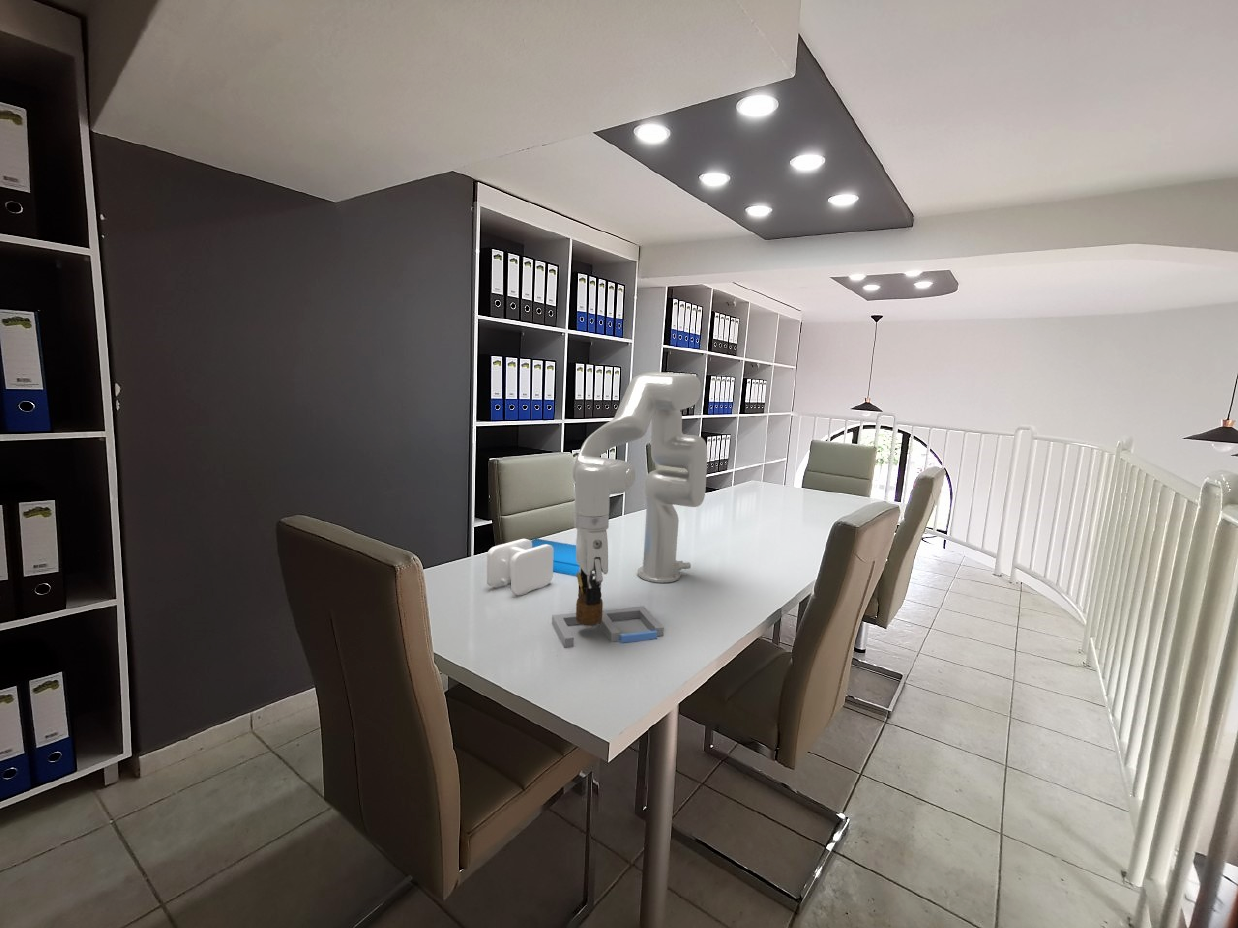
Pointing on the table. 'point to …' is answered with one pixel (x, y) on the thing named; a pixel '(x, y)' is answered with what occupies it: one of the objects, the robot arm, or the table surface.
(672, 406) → the robot arm
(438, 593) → the table surface
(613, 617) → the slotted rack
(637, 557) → the table surface
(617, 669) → the table surface
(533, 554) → the cable organizer
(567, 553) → the book
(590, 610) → the utensil holder
